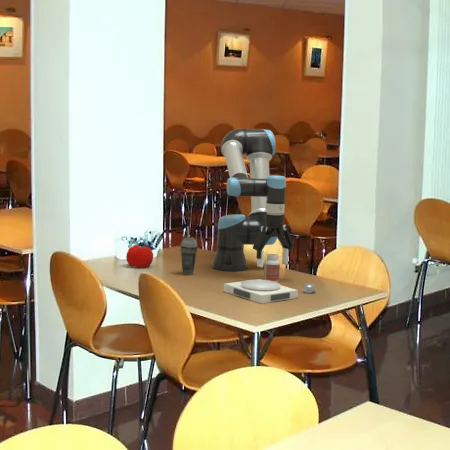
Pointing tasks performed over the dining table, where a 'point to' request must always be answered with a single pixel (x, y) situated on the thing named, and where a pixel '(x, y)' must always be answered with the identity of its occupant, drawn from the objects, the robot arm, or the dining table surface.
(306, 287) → the shiny grey dome
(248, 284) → the scale
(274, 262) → the pill bottle
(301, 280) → the dining table surface
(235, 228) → the robot arm
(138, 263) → the tomato
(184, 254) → the beverage cup
